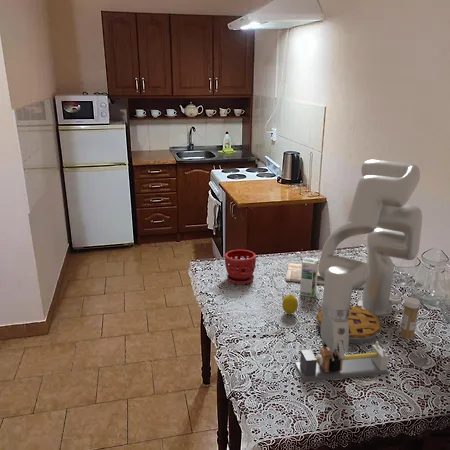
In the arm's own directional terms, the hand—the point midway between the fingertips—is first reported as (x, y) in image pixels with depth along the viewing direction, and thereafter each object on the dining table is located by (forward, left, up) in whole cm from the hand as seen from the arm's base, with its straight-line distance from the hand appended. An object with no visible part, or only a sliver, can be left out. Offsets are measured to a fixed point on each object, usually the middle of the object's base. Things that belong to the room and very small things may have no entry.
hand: (330, 364), depth 126 cm
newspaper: (-25, -62, -3) cm, 67 cm away
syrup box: (-10, -48, -2) cm, 49 cm away
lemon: (+3, -33, -2) cm, 33 cm away
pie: (-15, -21, -3) cm, 26 cm away
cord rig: (-4, 0, -2) cm, 4 cm away
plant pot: (+15, -64, -3) cm, 66 cm away
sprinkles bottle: (-33, -14, -2) cm, 36 cm away
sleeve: (0, 0, -1) cm, 1 cm away
